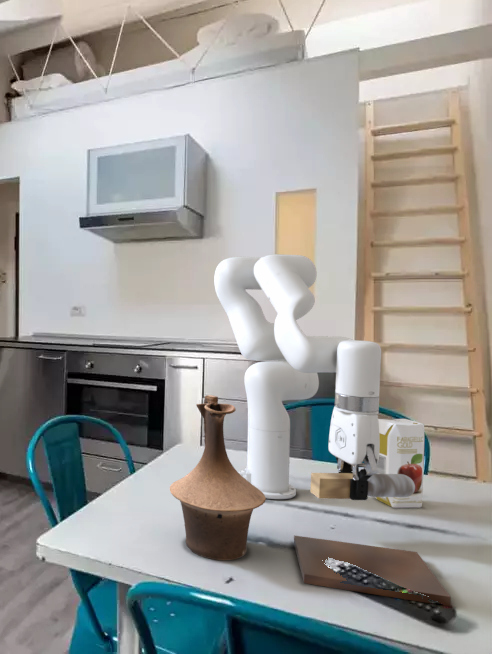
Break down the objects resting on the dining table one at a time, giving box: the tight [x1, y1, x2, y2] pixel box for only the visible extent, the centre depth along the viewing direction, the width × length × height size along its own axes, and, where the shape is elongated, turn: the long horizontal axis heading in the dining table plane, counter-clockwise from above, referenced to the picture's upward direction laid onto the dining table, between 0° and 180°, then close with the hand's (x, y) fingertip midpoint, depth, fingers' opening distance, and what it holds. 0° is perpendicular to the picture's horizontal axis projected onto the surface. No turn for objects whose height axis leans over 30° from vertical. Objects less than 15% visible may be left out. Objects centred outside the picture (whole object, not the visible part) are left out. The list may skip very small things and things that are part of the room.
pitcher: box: [169, 394, 267, 561], centre depth 101 cm, size 18×17×28 cm
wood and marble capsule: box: [309, 472, 415, 500], centre depth 107 cm, size 20×4×4 cm, turn 91°
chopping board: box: [293, 535, 452, 607], centre depth 92 cm, size 20×16×2 cm
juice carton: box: [374, 418, 425, 509], centre depth 125 cm, size 8×9×19 cm
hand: (352, 494), depth 107 cm, fingers closed on wood and marble capsule, 3 cm apart
